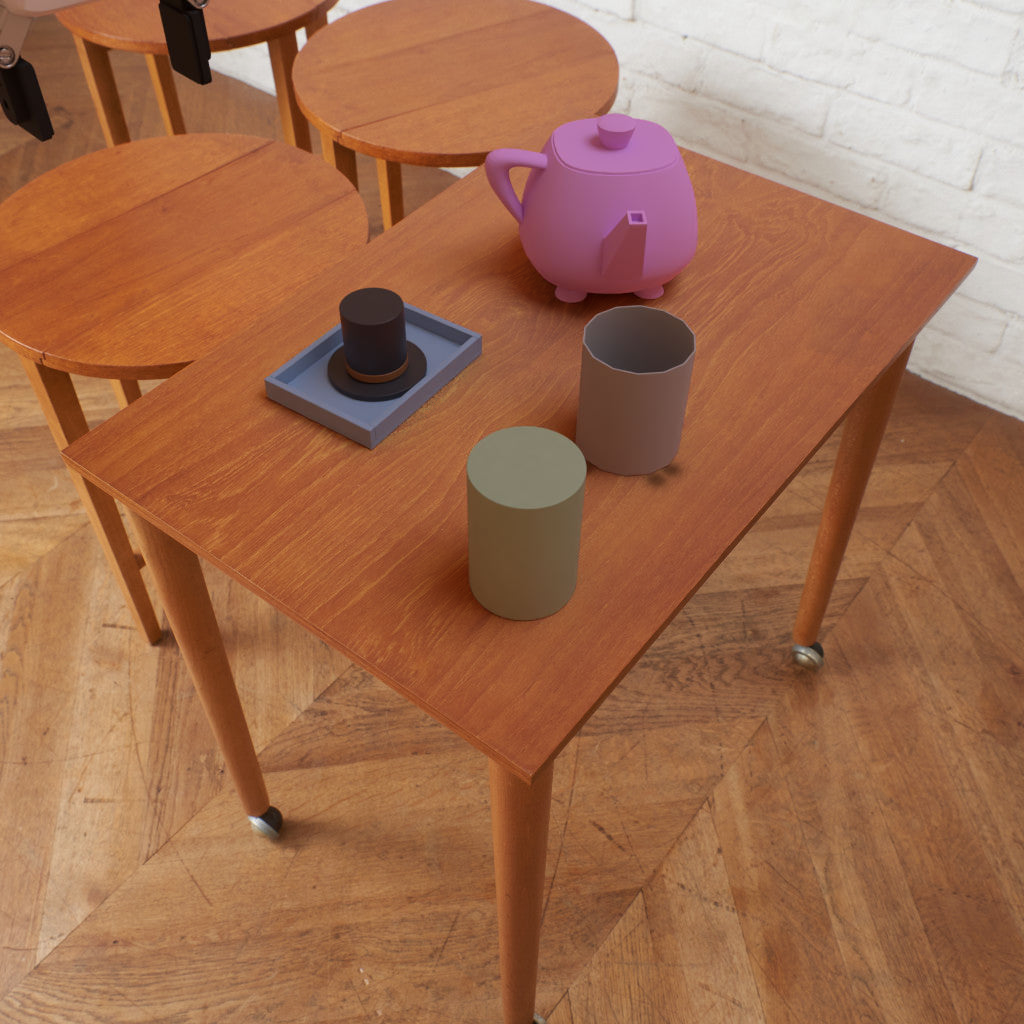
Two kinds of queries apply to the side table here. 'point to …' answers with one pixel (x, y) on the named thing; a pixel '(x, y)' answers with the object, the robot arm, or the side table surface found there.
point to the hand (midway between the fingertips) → (117, 103)
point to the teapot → (602, 207)
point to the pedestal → (524, 521)
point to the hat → (375, 348)
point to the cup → (633, 389)
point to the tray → (362, 421)
